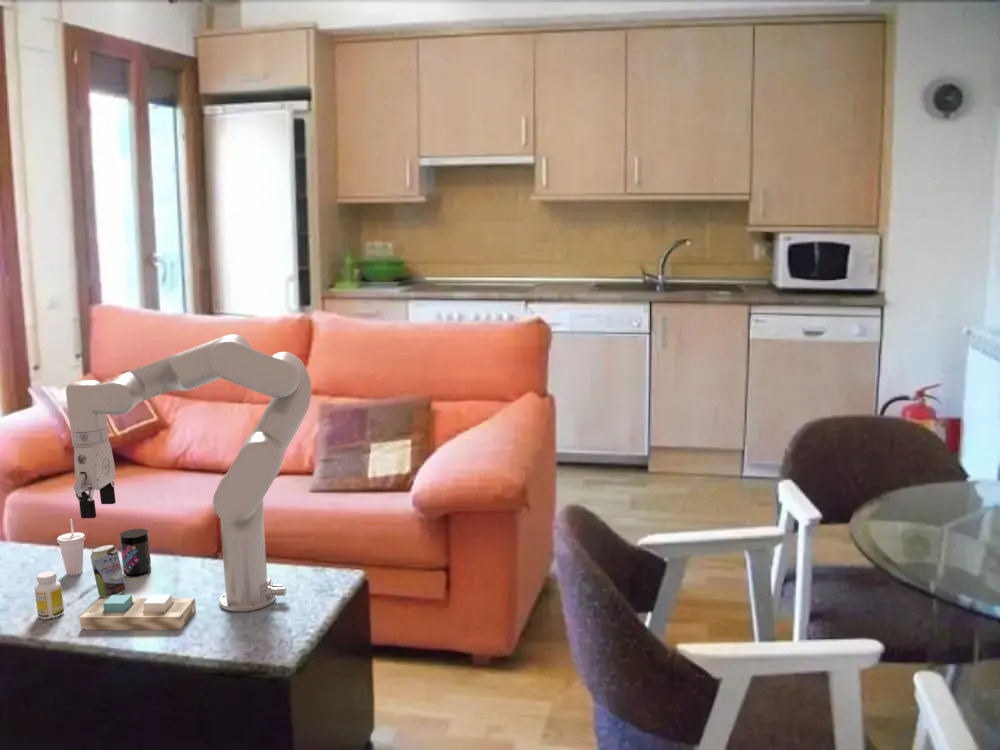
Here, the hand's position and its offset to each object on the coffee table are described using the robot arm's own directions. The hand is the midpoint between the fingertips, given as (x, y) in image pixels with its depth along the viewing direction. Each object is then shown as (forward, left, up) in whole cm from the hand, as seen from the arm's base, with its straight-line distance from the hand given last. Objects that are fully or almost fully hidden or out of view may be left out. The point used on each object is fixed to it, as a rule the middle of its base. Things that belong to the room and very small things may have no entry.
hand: (98, 510), depth 222 cm
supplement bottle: (+12, +2, -24) cm, 27 cm away
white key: (-14, +5, -22) cm, 26 cm away
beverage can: (+3, -9, -24) cm, 26 cm away
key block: (-9, +5, -24) cm, 26 cm away
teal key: (-5, +5, -22) cm, 23 cm away
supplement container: (+2, -23, -24) cm, 33 cm away
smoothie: (+18, -23, -24) cm, 38 cm away
